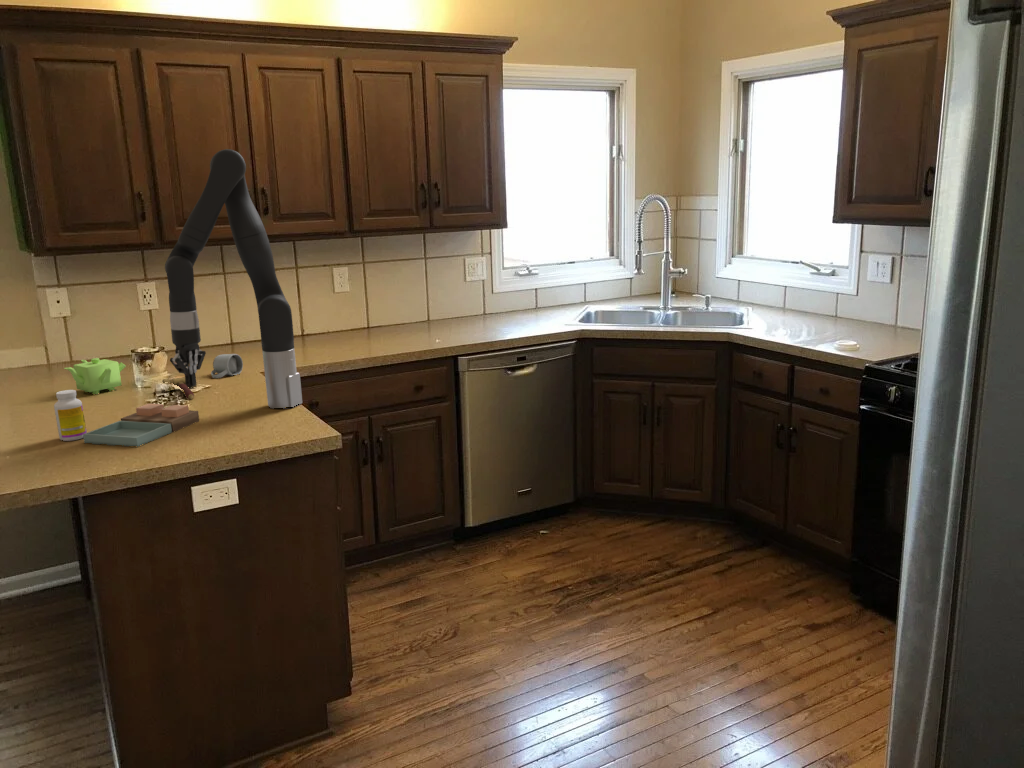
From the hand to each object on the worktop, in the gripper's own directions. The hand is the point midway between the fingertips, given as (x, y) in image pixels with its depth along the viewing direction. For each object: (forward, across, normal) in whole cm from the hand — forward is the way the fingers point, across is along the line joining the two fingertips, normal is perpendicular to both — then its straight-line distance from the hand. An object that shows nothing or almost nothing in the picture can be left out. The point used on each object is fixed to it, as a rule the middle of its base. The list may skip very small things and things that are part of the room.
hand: (191, 386), depth 234 cm
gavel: (+10, +24, +22) cm, 34 cm away
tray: (+9, -22, +4) cm, 24 cm away
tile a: (+6, -8, 0) cm, 10 cm away
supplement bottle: (+10, -25, +19) cm, 33 cm away
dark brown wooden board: (+9, -9, +4) cm, 14 cm away
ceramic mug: (+9, +50, +26) cm, 57 cm away
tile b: (+6, -8, +8) cm, 13 cm away
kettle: (+10, +22, +56) cm, 61 cm away
